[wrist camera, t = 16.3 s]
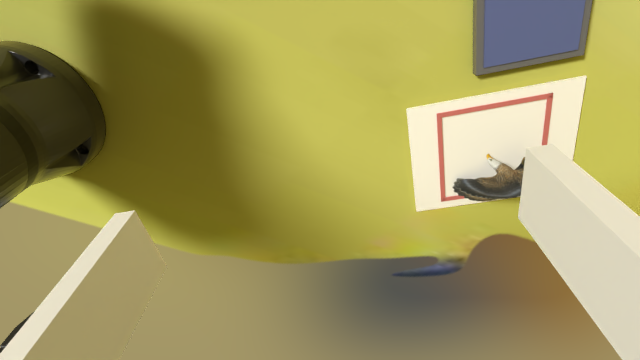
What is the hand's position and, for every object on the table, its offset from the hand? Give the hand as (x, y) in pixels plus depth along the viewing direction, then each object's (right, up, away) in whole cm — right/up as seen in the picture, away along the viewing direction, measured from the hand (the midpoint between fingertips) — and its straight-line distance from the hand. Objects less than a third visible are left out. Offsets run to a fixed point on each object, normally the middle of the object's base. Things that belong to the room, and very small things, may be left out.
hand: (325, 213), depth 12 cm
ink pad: (+19, +17, +22) cm, 34 cm away
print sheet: (+20, +5, +29) cm, 35 cm away
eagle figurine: (+20, +2, +30) cm, 36 cm away
